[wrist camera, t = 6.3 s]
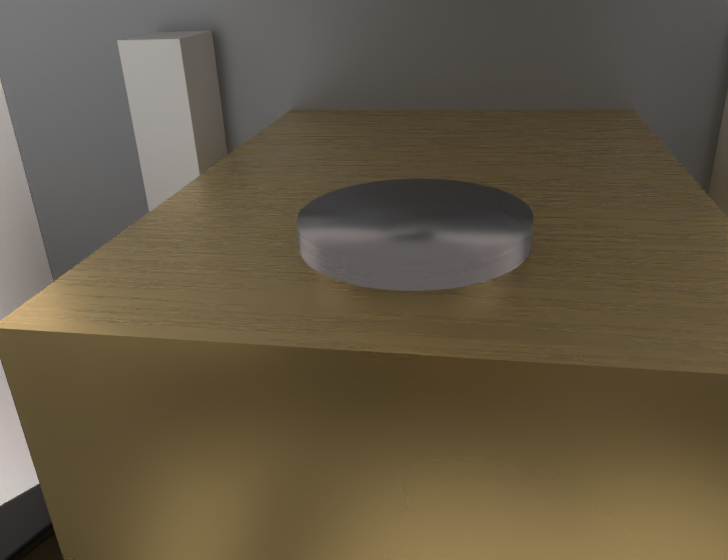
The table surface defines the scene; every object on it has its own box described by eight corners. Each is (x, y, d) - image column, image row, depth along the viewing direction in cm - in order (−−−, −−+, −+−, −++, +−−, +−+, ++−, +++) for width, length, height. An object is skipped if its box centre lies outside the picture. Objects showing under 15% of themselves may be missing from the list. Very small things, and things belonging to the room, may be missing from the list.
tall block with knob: (287, 94, 9) (-20, 294, 4) (636, 92, 8) (884, 345, 3) (326, 553, 13) (199, 991, 7) (571, 582, 12) (629, 1097, 6)
